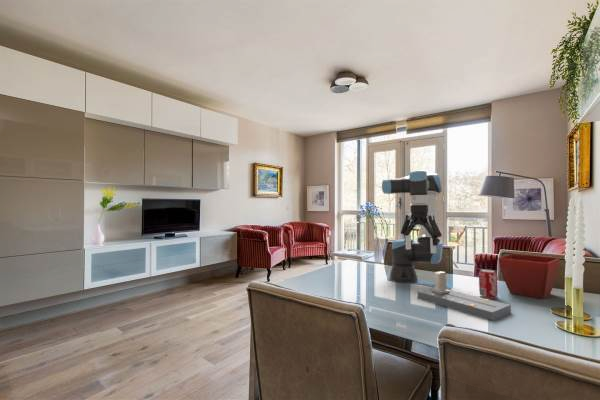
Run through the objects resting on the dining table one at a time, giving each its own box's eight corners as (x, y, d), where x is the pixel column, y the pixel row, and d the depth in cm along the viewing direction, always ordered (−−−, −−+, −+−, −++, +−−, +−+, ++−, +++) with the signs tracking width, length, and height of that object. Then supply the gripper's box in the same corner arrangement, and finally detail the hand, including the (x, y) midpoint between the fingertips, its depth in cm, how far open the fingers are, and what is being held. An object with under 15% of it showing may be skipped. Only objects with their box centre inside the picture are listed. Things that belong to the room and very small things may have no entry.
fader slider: (439, 289, 134) (438, 270, 135) (449, 292, 130) (449, 272, 130) (431, 292, 131) (430, 272, 131) (441, 294, 127) (441, 274, 127)
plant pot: (513, 285, 150) (511, 253, 150) (561, 294, 135) (559, 257, 135) (498, 292, 139) (497, 257, 139) (549, 302, 123) (548, 263, 124)
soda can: (499, 296, 133) (498, 270, 133) (496, 300, 128) (495, 273, 128) (481, 293, 138) (480, 268, 138) (477, 297, 133) (477, 270, 133)
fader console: (436, 292, 140) (435, 286, 140) (510, 312, 113) (510, 304, 113) (417, 297, 133) (417, 290, 133) (492, 320, 105) (492, 311, 106)
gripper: (392, 205, 141) (393, 248, 140) (437, 204, 119) (439, 255, 118) (403, 204, 144) (404, 247, 144) (449, 203, 122) (451, 253, 122)
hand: (420, 251), depth 131 cm, fingers open, 13 cm apart
